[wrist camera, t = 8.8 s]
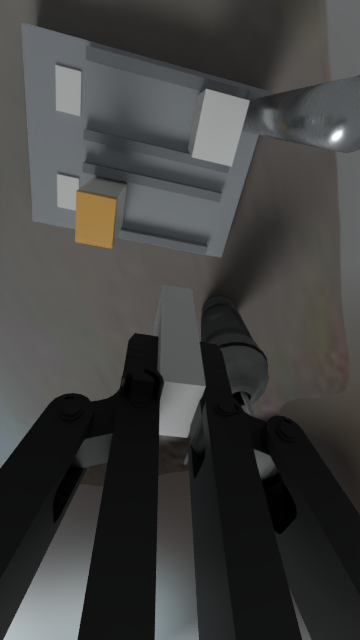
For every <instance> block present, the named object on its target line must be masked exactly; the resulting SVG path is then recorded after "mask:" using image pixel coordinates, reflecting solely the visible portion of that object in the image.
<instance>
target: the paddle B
mask: <svg viewBox="0 0 360 640" xmlns="http://www.w3.org/2000/svg"><path fill="white" fill-rule="evenodd" d="M249 102H250V101H249V100H246V99H242V98H238V97H235V96H231V95H227V94H224V93H220V92H216V91H213V90H209V89H205V90H204V91H203V92H201V93H200V94H199V95H198V99H197V104H196V109H195V114H194V119H193V124H192V129H191V134H190V139H189V144H188V151H189V153H190V155H191V157H193V158H197V159H201V160H206V161H210V162H214V163H218V164H222V165H226V166H231V167H232V164H233V160H234V157H235V153H236V149H237V146H238V142H239V138H240V135H241V131H242V128H243V124H244V120H245V117H246V113H247V109H248V106H249Z"/></svg>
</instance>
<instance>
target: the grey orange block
mask: <svg viewBox="0 0 360 640" xmlns="http://www.w3.org/2000/svg"><path fill="white" fill-rule="evenodd" d="M126 189H127V183H122V182H118V181H113V180H109V179H104V178H100V177H94V178H93V179H91V180H90V181H89V182H87V183H86V184H85V185H84V186H82V187H81V188H80V189H78V190H77V191H76V231H75V242H79V243H84V244H89V245H95V246H100V247H105V248H111V249H112V247H113V245H114V243H115V241H116V238H117V236H118V234H119V232H120V230H121V227H122V225H123V217H124V208H125V198H126Z"/></svg>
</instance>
